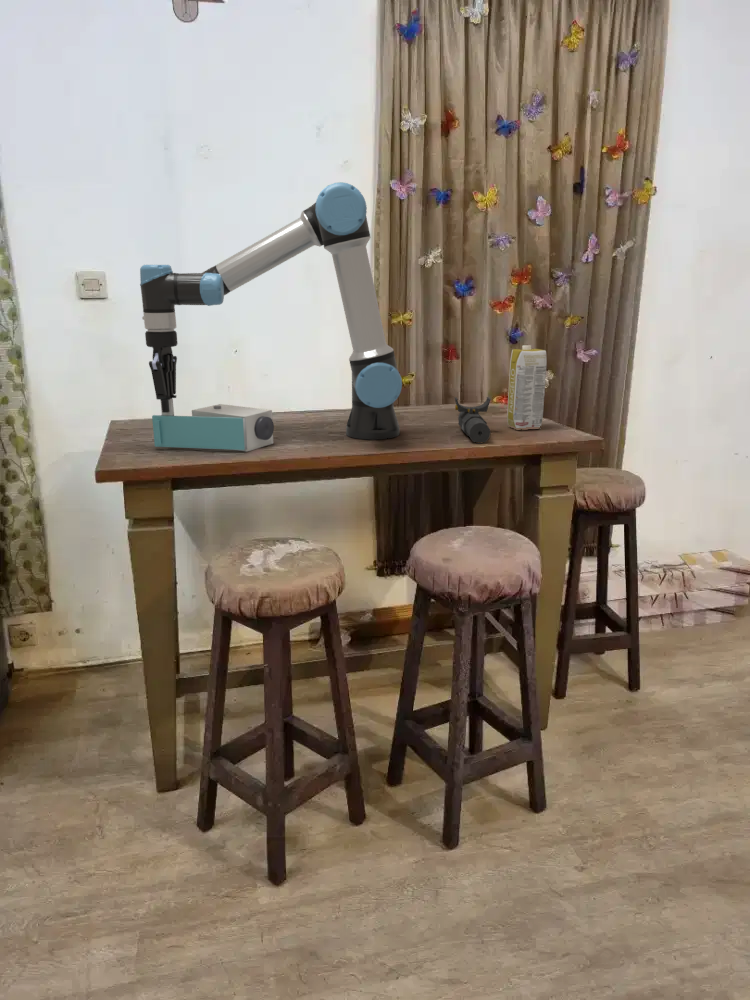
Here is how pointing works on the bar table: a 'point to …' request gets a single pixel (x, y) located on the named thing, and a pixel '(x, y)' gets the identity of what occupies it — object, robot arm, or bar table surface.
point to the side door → (200, 432)
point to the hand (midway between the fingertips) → (168, 424)
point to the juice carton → (526, 387)
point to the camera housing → (256, 422)
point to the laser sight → (473, 421)
